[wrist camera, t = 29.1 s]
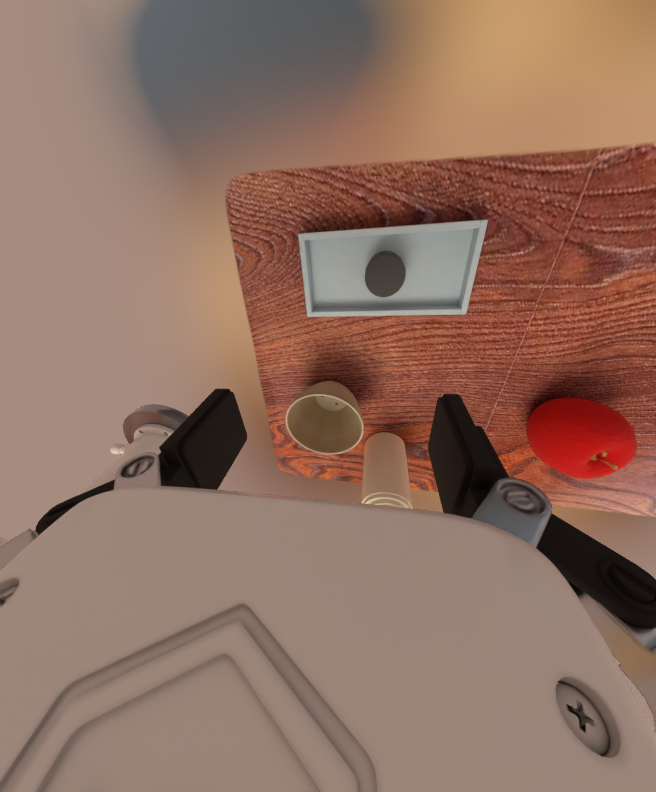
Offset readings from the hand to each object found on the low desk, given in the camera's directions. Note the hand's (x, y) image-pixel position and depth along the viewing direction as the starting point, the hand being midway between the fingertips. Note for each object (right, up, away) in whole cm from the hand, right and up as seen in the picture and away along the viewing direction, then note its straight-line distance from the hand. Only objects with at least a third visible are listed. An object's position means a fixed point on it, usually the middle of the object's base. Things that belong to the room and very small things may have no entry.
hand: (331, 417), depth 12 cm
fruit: (+30, -1, +22) cm, 37 cm away
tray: (+6, +14, +16) cm, 22 cm away
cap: (+5, +13, +13) cm, 19 cm away
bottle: (+9, -7, +30) cm, 32 cm away
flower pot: (0, +1, +26) cm, 26 cm away
